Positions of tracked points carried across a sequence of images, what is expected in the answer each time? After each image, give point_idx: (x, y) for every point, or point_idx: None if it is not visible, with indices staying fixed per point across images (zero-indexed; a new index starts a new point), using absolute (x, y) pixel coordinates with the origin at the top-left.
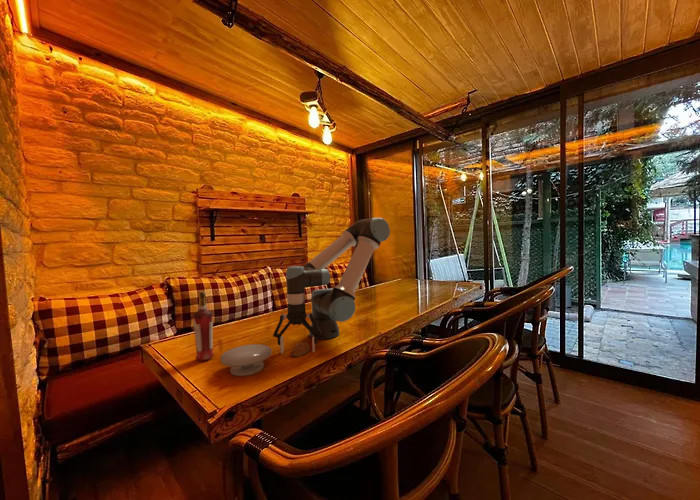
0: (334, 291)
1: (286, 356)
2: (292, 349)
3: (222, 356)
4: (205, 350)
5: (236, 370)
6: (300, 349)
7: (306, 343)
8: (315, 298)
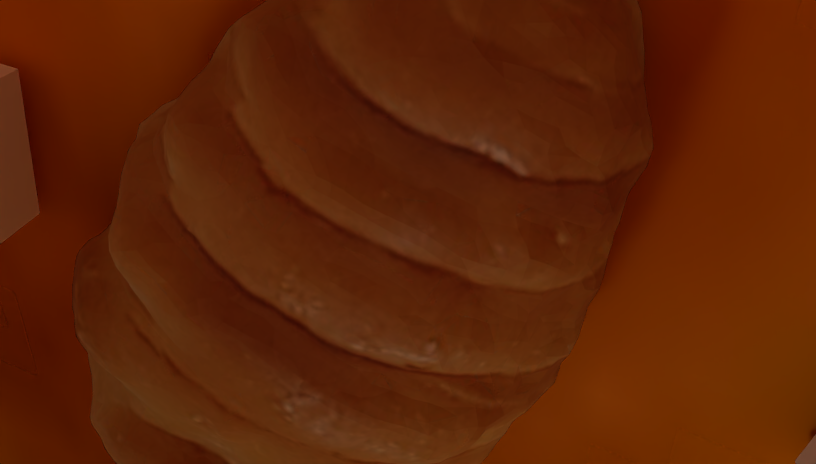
0: None
1: (812, 105)
2: (562, 257)
3: None
4: None
5: None
6: (260, 96)
7: (103, 407)
8: None
